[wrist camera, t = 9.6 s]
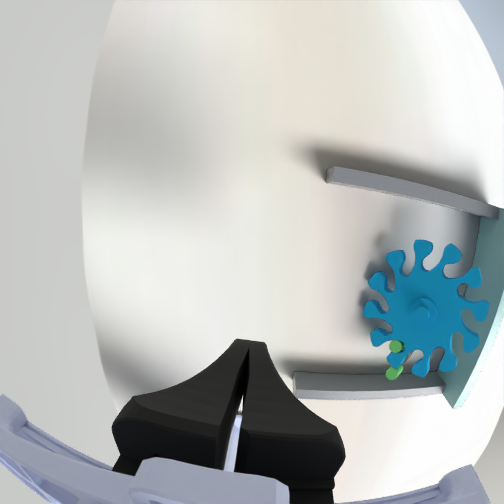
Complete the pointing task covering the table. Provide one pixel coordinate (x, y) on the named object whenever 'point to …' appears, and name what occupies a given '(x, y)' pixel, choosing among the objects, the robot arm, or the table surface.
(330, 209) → the table surface
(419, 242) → the gear
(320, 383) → the grey open frame
